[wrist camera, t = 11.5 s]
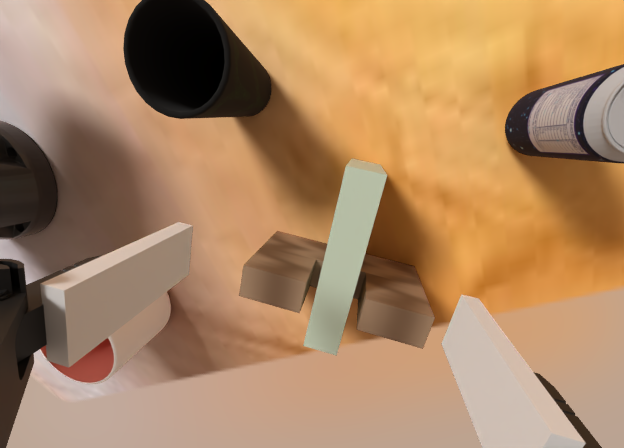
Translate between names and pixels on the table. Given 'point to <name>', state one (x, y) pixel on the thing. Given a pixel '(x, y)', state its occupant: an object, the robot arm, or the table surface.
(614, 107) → the beverage can
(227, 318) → the table surface
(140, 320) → the cup
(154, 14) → the cup
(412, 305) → the walnut stand
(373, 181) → the sage plate
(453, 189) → the table surface
